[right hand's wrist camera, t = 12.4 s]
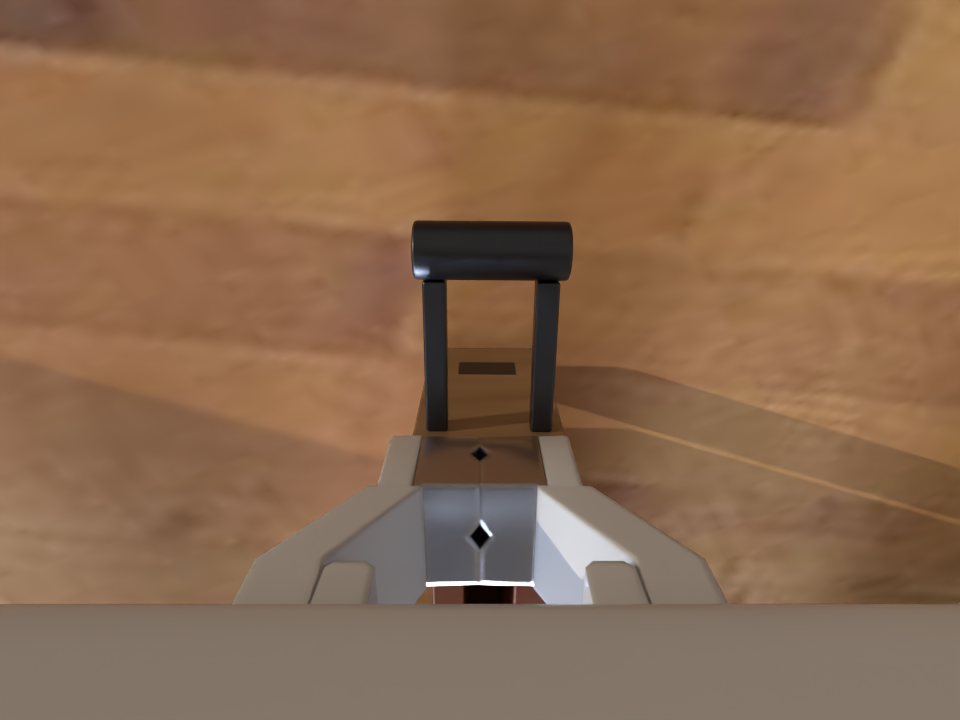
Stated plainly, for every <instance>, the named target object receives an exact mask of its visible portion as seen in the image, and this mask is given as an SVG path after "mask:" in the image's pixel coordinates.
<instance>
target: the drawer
mask: <svg viewBox="0 0 960 720" xmlns="http://www.w3.org/2000/svg"><path fill="white" fill-rule="evenodd" d="M411 257H412V270H413V275H414V278H415V279H417V280H423V283H422V295H423V331H424V367H425V382H424V386H423V391H422V395H421V400H420V405H419V409H418V414H417V418H416V423H415V428H414V432H413V436H414V435H421V436H422V437H423V436H450V437H509V436H559V435H565V434H564V430H563V426H562V423H561V419H560V416H559V412H558V408H557V405H556V401H555V398H554V384H555V367H556V350H557V333H558V316H559V299H560V283H559V281H566V280H568V278H569V276H570V273H571V268H572V259H573V233H572V227H571V225H570V223H569V222H531V221H415V222H414V224H413V227H412V237H411ZM447 280H535V294H534V318H533V341H532V349H502V348H448V337H447ZM433 604H543V599H542V598H541V597H540V596H539V594H538V593H537V592H536V591H535V590H534V586H515V585H445V586H433Z"/></svg>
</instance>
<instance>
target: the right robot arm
mask: <svg viewBox="0 0 960 720" xmlns="http://www.w3.org/2000/svg"><path fill="white" fill-rule="evenodd" d="M445 585H515V586H534V590H535V591H536V592H537V593H538V594H539V596H540V597H541V598H542V599H543V600H544V602H545V603H546V604H414V603H415V602H416V601H417V600H418V598H419V597H420V596H421V595H422V594H423V592H424V591H425V590H426V589H427V588H426V586H445ZM0 720H960V604H728V602H727V601H726V599H725V597H724V595H723V593H722V591H721V589H720V587H719V585H718V583H717V581H716V579H715V577H714V575H713V574H712V572H711V570H710V568H709V566H708V564H707V562H706V560H705V559H704V558H702V557H701V556H699V555H698V554H696V553H694V552H693V551H691V550H690V549H688V548H687V547H685V546H684V545H682V544H681V543H679V542H677V541H676V540H674V539H673V538H671V537H670V536H668V535H667V534H665V533H663V532H662V531H660V530H659V529H657V528H656V527H654V526H653V525H651V524H649V523H648V522H646V521H645V520H643V519H642V518H640V517H639V516H637V515H636V514H634V513H632V512H631V511H629V510H628V509H626V508H625V507H623V506H622V505H620V504H618V503H617V502H615V501H614V500H612V499H611V498H609V497H608V496H606V495H605V494H603V493H601V492H600V491H598V490H597V489H595V488H594V487H592V486H583V485H582V481H581V478H580V474H579V471H578V468H577V464H576V461H575V457H574V454H573V451H572V447H571V444H570V440H569V437H567V436H566V435H559V436H509V437H450V436H423V437H422V436H421V435H414V436H393V437H392V438H391V440H390V443H389V446H388V450H387V453H386V457H385V460H384V464H383V467H382V471H381V474H380V478H379V481H378V484H377V486H368V487H366V488H365V489H363V490H362V491H360V492H359V493H357V494H355V495H354V496H352V497H351V498H349V499H348V500H346V501H345V502H343V503H341V504H340V505H338V506H337V507H335V508H334V509H332V510H330V511H329V512H327V513H326V514H324V515H323V516H321V517H320V518H318V519H316V520H315V521H313V522H312V523H310V524H309V525H307V526H306V527H304V528H302V529H301V530H299V531H298V532H296V533H295V534H293V535H292V536H290V537H288V538H287V539H285V540H284V541H282V542H281V543H279V544H278V545H276V546H274V547H273V548H271V549H270V550H268V551H267V552H265V553H264V554H262V555H260V556H259V557H257V558H256V559H255V561H254V563H253V565H252V566H251V568H250V570H249V572H248V574H247V576H246V578H245V580H244V582H243V583H242V585H241V587H240V589H239V591H238V593H237V595H236V597H235V599H234V601H233V602H232V604H0Z"/></svg>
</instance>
